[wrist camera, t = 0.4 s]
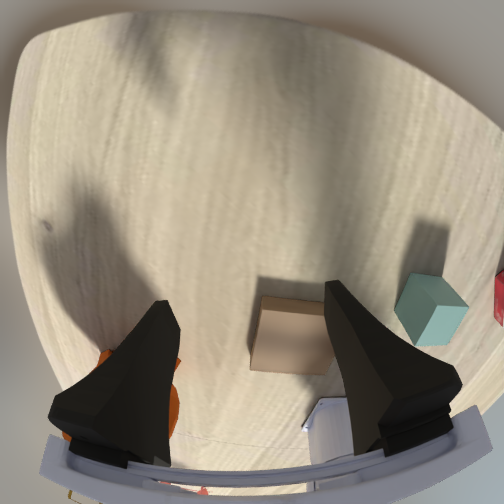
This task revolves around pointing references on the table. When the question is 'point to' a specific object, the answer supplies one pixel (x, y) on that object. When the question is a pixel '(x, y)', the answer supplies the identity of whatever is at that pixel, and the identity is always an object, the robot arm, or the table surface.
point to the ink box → (499, 298)
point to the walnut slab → (291, 338)
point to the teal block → (430, 310)
